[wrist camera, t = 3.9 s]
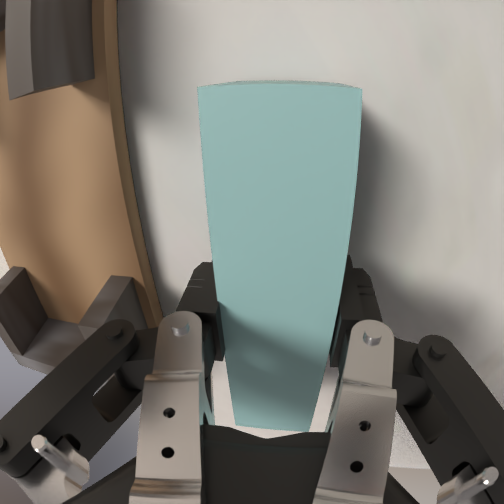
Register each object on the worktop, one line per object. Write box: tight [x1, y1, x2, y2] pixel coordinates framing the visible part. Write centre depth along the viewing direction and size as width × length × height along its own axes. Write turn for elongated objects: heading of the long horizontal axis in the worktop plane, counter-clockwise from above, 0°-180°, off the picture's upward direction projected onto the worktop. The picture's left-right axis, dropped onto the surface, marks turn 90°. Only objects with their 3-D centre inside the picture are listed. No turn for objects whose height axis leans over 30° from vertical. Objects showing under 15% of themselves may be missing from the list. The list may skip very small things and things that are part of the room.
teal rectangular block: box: [197, 81, 362, 432], centre depth 11 cm, size 4×14×4 cm, turn 2°
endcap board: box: [0, 0, 163, 390], centre depth 11 cm, size 10×20×4 cm, turn 1°
